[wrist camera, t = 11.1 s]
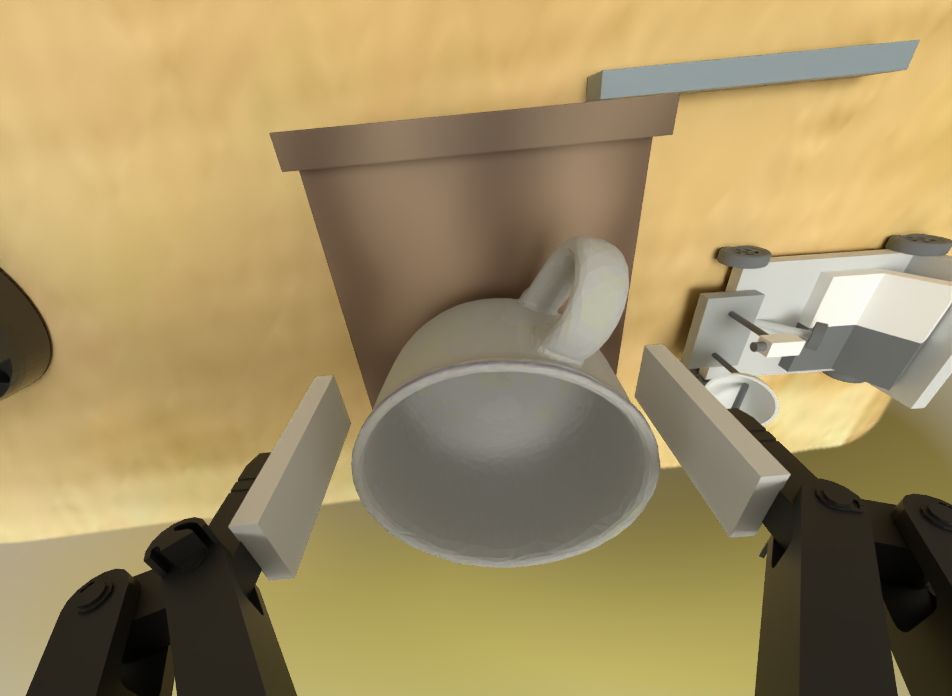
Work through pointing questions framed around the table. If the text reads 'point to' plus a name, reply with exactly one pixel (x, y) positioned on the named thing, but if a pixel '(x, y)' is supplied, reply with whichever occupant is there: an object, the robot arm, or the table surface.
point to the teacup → (512, 424)
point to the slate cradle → (750, 71)
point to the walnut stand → (468, 207)
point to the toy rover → (827, 322)
